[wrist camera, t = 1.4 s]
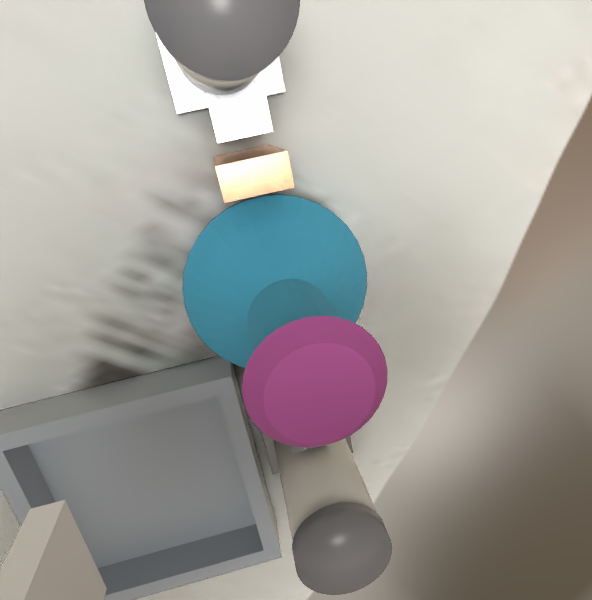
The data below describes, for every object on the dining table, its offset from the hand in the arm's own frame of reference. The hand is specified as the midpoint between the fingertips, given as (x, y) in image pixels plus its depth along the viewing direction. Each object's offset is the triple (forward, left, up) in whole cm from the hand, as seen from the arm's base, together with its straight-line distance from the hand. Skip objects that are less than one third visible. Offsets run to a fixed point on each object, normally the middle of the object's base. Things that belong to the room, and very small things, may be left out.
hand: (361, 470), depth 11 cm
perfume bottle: (0, 0, -19) cm, 19 cm away
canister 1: (0, +12, -18) cm, 21 cm away
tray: (-11, -12, -18) cm, 24 cm away
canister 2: (0, -11, -18) cm, 21 cm away
